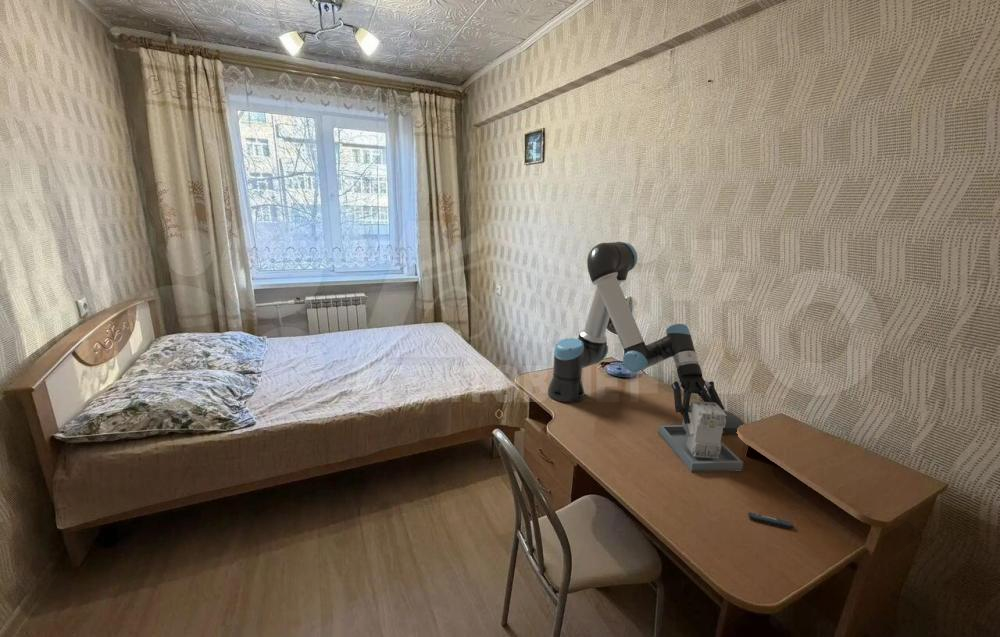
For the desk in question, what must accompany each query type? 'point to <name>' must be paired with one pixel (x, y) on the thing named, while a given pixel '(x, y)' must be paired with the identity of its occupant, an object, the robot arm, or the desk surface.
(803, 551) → the desk surface
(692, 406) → the circuit breaker
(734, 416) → the media streaming box
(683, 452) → the tray
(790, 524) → the usb stick
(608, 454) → the desk surface
